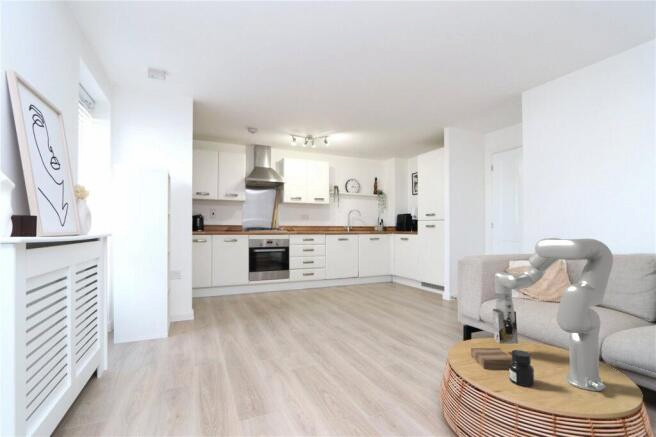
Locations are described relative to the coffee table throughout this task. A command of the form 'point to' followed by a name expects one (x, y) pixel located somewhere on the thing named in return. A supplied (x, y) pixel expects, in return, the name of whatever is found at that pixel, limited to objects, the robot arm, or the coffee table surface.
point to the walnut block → (491, 358)
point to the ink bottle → (521, 369)
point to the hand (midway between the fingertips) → (505, 331)
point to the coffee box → (504, 329)
